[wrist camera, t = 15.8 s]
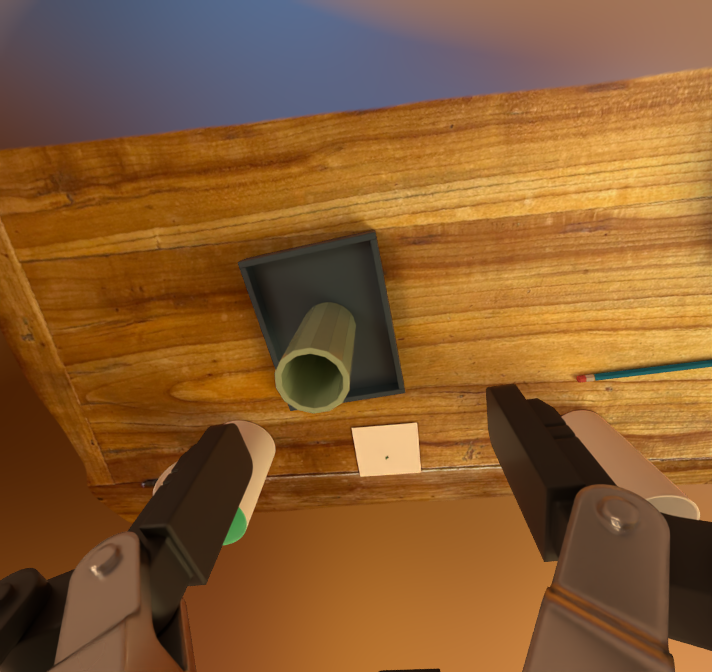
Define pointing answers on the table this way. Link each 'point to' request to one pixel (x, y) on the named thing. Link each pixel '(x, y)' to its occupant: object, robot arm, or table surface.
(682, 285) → the table surface
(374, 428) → the coaster
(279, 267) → the tray
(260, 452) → the mug
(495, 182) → the table surface
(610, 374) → the pencil
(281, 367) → the cup
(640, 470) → the mug
